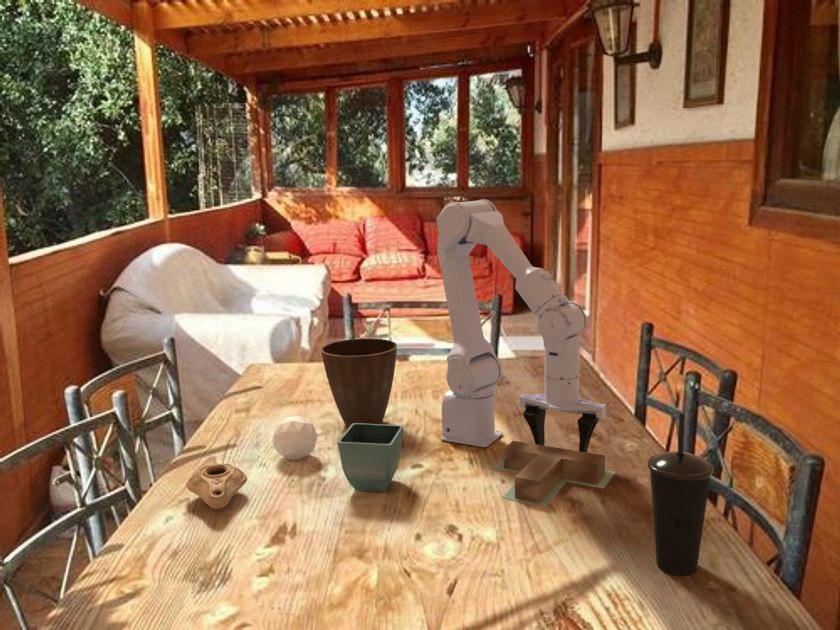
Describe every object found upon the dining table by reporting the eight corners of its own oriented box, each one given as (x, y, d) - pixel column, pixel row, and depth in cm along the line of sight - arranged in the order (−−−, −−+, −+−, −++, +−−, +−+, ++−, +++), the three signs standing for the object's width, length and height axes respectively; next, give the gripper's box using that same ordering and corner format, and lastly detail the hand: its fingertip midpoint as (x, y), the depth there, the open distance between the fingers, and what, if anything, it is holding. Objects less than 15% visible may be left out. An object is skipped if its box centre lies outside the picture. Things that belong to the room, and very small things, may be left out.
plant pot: (311, 432, 147) (306, 353, 143) (347, 408, 160) (343, 336, 157) (381, 440, 141) (377, 358, 138) (411, 415, 154) (408, 340, 151)
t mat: (466, 491, 118) (466, 490, 118) (508, 454, 133) (508, 453, 133) (584, 515, 109) (584, 514, 109) (615, 472, 123) (615, 471, 123)
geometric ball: (293, 468, 136) (294, 426, 140) (326, 459, 132) (326, 416, 136) (262, 460, 131) (264, 416, 134) (295, 451, 127) (296, 406, 130)
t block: (479, 491, 118) (478, 470, 117) (513, 459, 130) (512, 440, 129) (578, 510, 110) (578, 488, 109) (604, 475, 122) (605, 455, 121)
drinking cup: (635, 552, 98) (639, 406, 94) (692, 548, 99) (698, 403, 95) (658, 584, 91) (664, 427, 87) (719, 579, 91) (727, 423, 87)
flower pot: (393, 499, 116) (391, 444, 114) (339, 495, 118) (336, 441, 116) (406, 476, 125) (404, 424, 123) (355, 473, 126) (352, 422, 125)
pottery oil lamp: (189, 523, 109) (170, 479, 110) (205, 514, 121) (188, 474, 122) (245, 497, 111) (226, 453, 111) (256, 490, 122) (238, 450, 123)
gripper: (512, 376, 126) (512, 452, 128) (597, 386, 119) (596, 467, 121) (528, 366, 132) (528, 439, 134) (609, 375, 125) (608, 452, 127)
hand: (561, 451), depth 128 cm, fingers open, 7 cm apart
